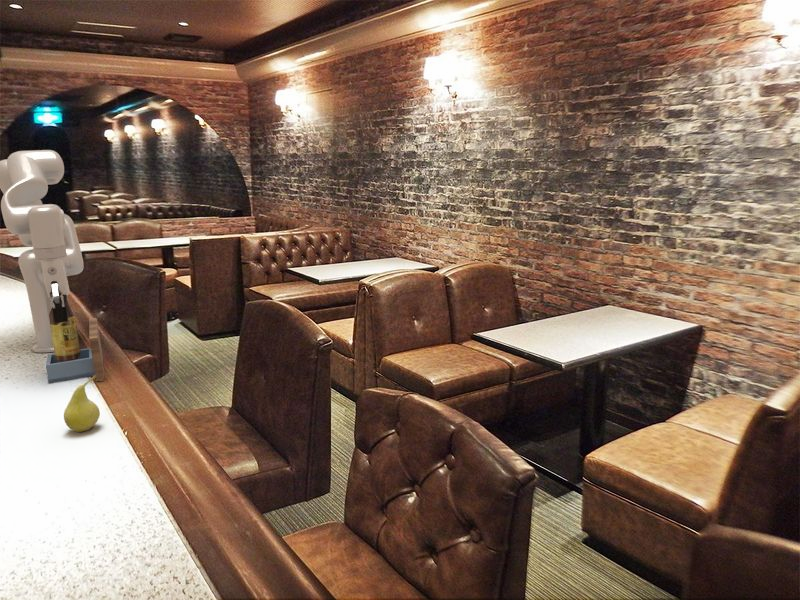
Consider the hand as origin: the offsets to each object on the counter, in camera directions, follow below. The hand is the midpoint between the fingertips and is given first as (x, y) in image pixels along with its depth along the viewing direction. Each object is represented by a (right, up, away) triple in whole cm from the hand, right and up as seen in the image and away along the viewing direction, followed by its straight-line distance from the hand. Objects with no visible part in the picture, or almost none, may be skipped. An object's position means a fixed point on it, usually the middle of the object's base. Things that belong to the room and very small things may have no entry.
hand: (61, 318), depth 172 cm
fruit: (+23, -23, -33) cm, 47 cm away
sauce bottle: (0, -11, +3) cm, 12 cm away
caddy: (+1, -15, +4) cm, 16 cm away
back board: (+7, -14, +7) cm, 17 cm away
